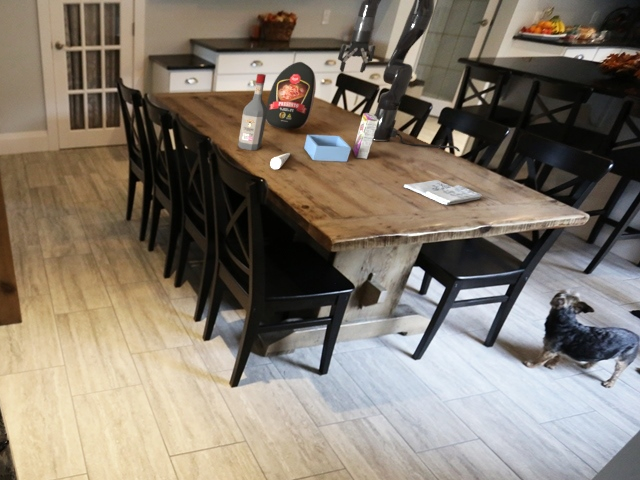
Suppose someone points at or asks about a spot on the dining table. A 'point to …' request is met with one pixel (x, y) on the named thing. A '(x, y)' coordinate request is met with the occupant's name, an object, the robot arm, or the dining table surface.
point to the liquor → (254, 119)
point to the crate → (327, 148)
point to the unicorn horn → (279, 161)
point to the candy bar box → (365, 135)
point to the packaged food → (291, 97)
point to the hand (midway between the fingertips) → (351, 72)
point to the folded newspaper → (444, 192)
